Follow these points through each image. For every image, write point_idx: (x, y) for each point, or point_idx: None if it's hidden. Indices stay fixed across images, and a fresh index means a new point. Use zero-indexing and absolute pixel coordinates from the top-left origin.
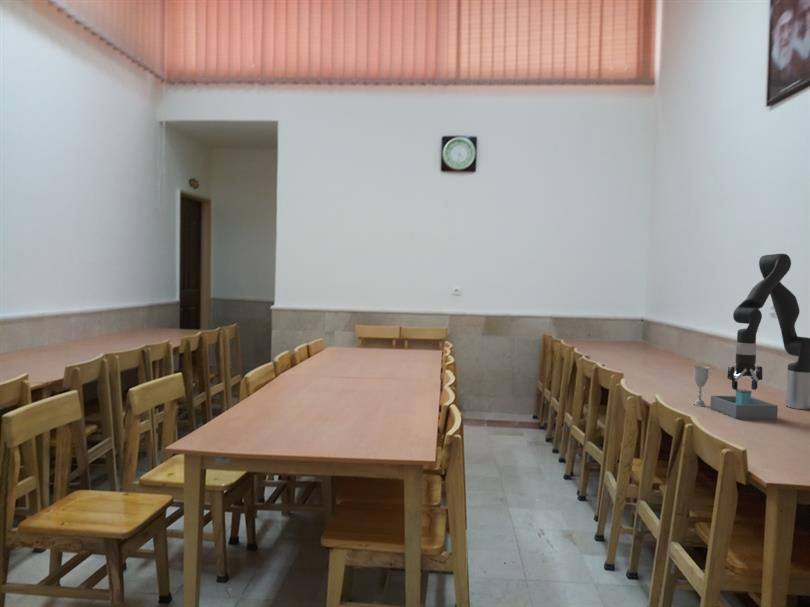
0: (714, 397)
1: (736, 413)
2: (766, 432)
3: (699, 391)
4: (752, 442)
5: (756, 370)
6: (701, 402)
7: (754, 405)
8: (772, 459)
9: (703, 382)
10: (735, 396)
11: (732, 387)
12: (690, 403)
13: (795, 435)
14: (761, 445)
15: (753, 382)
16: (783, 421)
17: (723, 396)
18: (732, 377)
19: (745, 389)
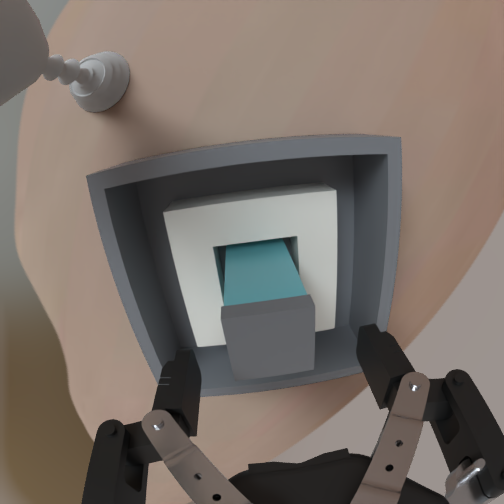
0: (97, 219)
1: None
2: (208, 444)
3: (48, 78)
4: (149, 472)
5: (447, 481)
6: (91, 99)
7: (258, 390)
8: (155, 496)
9: (4, 102)
10: (284, 156)
11: (167, 369)
12: (73, 56)
13: (270, 450)
14: (160, 479)
15: (379, 386)
16: None
17: (175, 173)
18: (137, 469)
19: (310, 317)
